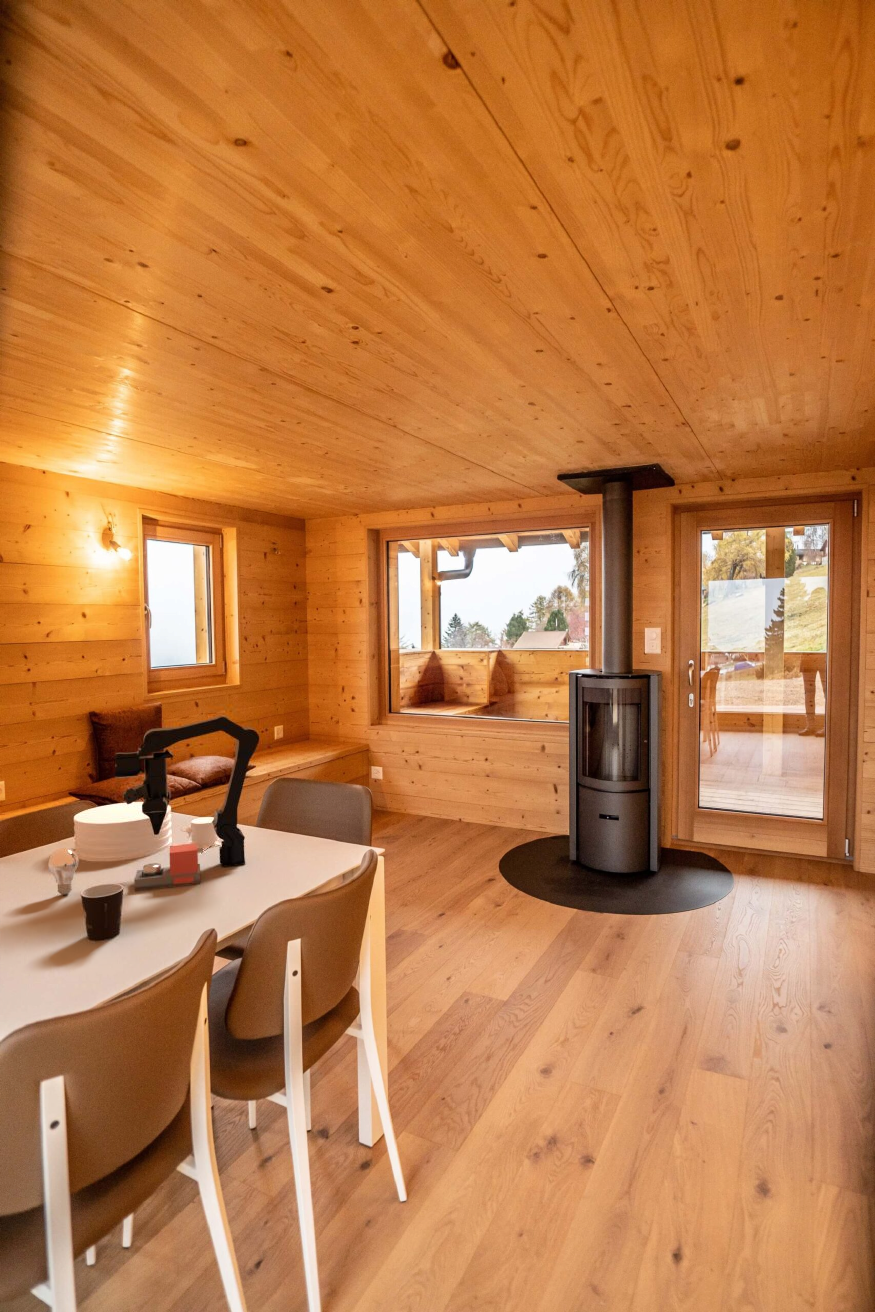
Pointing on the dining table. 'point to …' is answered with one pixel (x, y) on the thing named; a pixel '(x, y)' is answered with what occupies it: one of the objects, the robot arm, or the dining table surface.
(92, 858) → the plate stack
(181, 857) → the cap
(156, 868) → the chrome round knob
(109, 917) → the coffee mug
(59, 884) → the light bulb
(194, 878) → the switch box
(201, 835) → the tree stump
